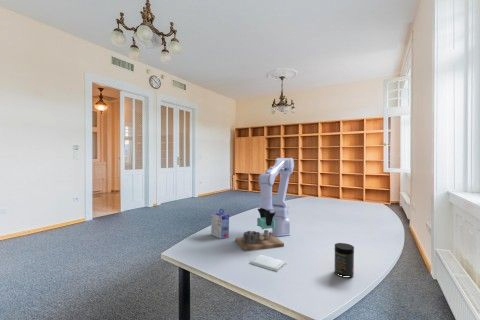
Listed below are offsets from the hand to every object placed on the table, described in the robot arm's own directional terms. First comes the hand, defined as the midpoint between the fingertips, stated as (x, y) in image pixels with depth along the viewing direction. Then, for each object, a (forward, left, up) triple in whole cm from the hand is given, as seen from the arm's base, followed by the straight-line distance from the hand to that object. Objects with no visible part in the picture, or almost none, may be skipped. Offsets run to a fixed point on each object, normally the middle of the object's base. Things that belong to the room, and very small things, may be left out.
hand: (266, 224), depth 123 cm
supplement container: (-14, +39, -10) cm, 43 cm away
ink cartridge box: (+20, -17, -10) cm, 28 cm away
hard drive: (+9, +22, -10) cm, 26 cm away
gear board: (+4, 0, -9) cm, 10 cm away
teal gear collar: (0, 0, -2) cm, 2 cm away
